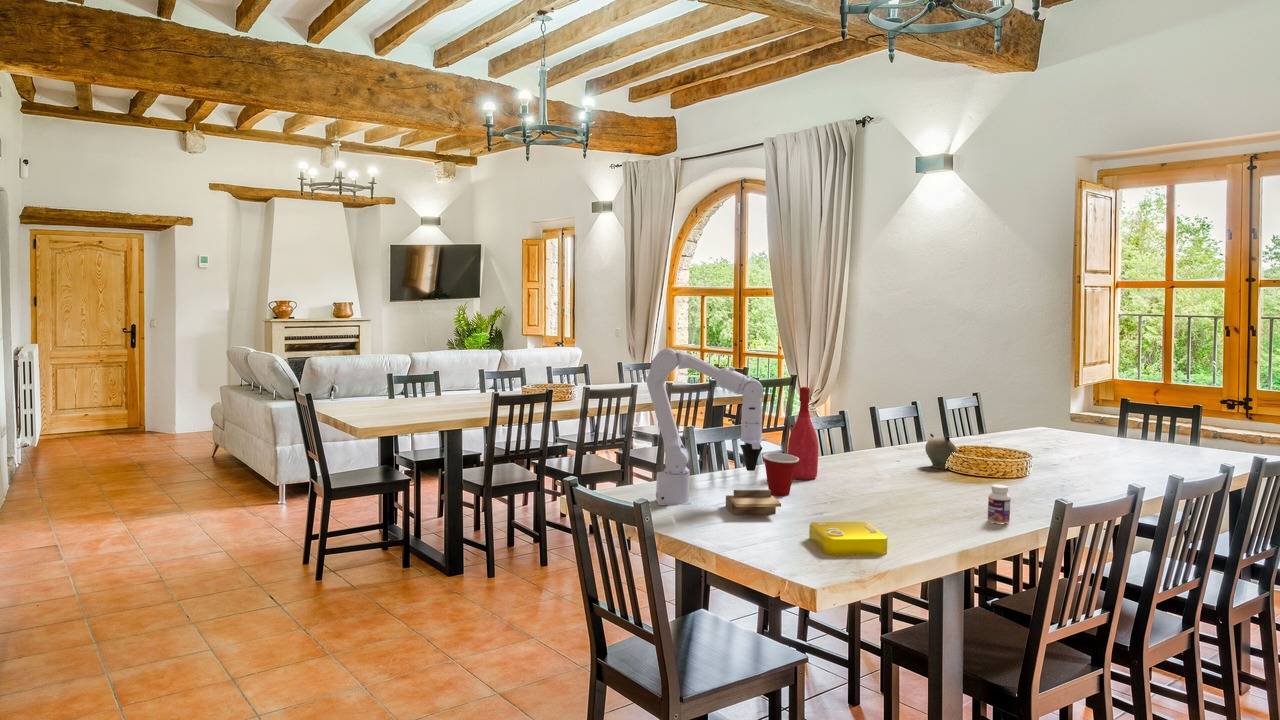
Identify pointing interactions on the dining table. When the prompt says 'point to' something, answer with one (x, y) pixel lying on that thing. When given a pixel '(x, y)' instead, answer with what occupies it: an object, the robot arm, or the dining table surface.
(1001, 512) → the pill bottle
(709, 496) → the dining table surface
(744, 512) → the walnut box
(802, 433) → the wine bottle
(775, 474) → the plastic cup
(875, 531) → the element tile
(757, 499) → the lid
